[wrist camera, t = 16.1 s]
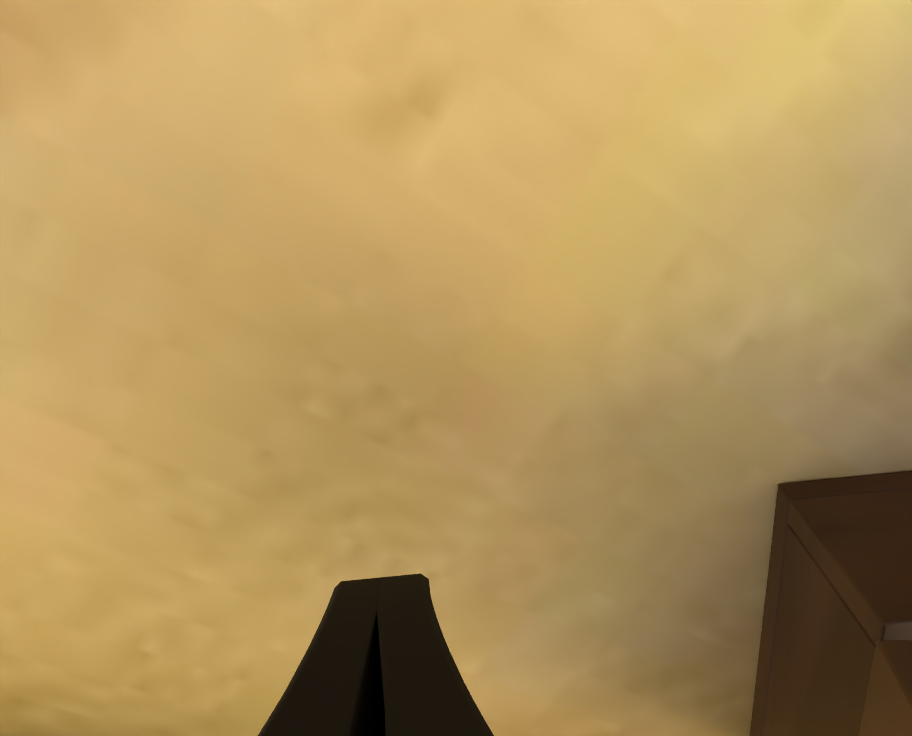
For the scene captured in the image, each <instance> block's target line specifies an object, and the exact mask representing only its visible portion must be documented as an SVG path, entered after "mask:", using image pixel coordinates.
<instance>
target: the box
mask: <svg viewBox="0 0 912 736" xmlns="http://www.w3.org/2000/svg"><path fill="white" fill-rule="evenodd" d="M879 640H911V641H912V471H911V472H901V473H890V474H880V475H870V476H859V477H849V478H839V479H828V480H818V481H808V482H797V483H787V484H779V485H778V492H777V501H776V510H775V519H774V528H773V537H772V545H771V554H770V563H769V572H768V581H767V590H766V598H765V607H764V616H763V625H762V634H761V643H760V651H759V660H758V669H757V678H756V687H755V696H754V704H753V713H752V722H751V731H750V736H859V732H860V727H861V721H862V716H863V711H864V706H865V701H866V695H867V690H868V685H869V680H870V675H871V670H872V664H873V659H874V654H875V649H876V644H877V641H879Z"/></svg>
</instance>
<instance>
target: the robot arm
mask: <svg viewBox="0 0 912 736" xmlns="http://www.w3.org/2000/svg"><path fill="white" fill-rule="evenodd" d="M258 736H494V735H493V733H492V732H491V730H490V728H489V727H488V725H487V723H486V722H485V720H484V718H483V716H482V715H481V713H480V711H479V709H478V707H477V706H476V704H475V702H474V700H473V698H472V697H471V695H470V693H469V691H468V689H467V687H466V685H465V683H464V681H463V679H462V677H461V675H460V673H459V670H458V668H457V666H456V664H455V662H454V660H453V657H452V655H451V653H450V651H449V649H448V646H447V644H446V641H445V639H444V637H443V634H442V631H441V628H440V626H439V623H438V620H437V617H436V614H435V611H434V607H433V604H432V600H431V595H430V587H429V579H428V578H426V577H425V576H423V575H422V574H412V575H402V576H392V577H381V578H371V579H361V580H351V581H341V582H340V583H339V584H338V585H337V586H336V587H335V588H334V591H333V594H332V596H331V599H330V602H329V604H328V606H327V609H326V611H325V614H324V616H323V618H322V620H321V623H320V625H319V627H318V629H317V631H316V633H315V635H314V637H313V639H312V641H311V644H310V646H309V648H308V650H307V652H306V653H305V655H304V657H303V659H302V661H301V663H300V665H299V667H298V668H297V670H296V672H295V674H294V676H293V678H292V680H291V681H290V683H289V685H288V687H287V689H286V690H285V692H284V694H283V696H282V697H281V699H280V701H279V702H278V704H277V706H276V707H275V709H274V710H273V712H272V714H271V715H270V717H269V719H268V720H267V722H266V723H265V725H264V727H263V728H262V730H261V732H260V733H259V735H258Z"/></svg>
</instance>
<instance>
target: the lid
mask: <svg viewBox="0 0 912 736" xmlns="http://www.w3.org/2000/svg"><path fill="white" fill-rule="evenodd" d="M859 736H912V641H911V640H879V641H877V644H876V649H875V654H874V659H873V664H872V670H871V675H870V680H869V685H868V690H867V695H866V701H865V706H864V711H863V716H862V721H861V727H860V732H859Z"/></svg>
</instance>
